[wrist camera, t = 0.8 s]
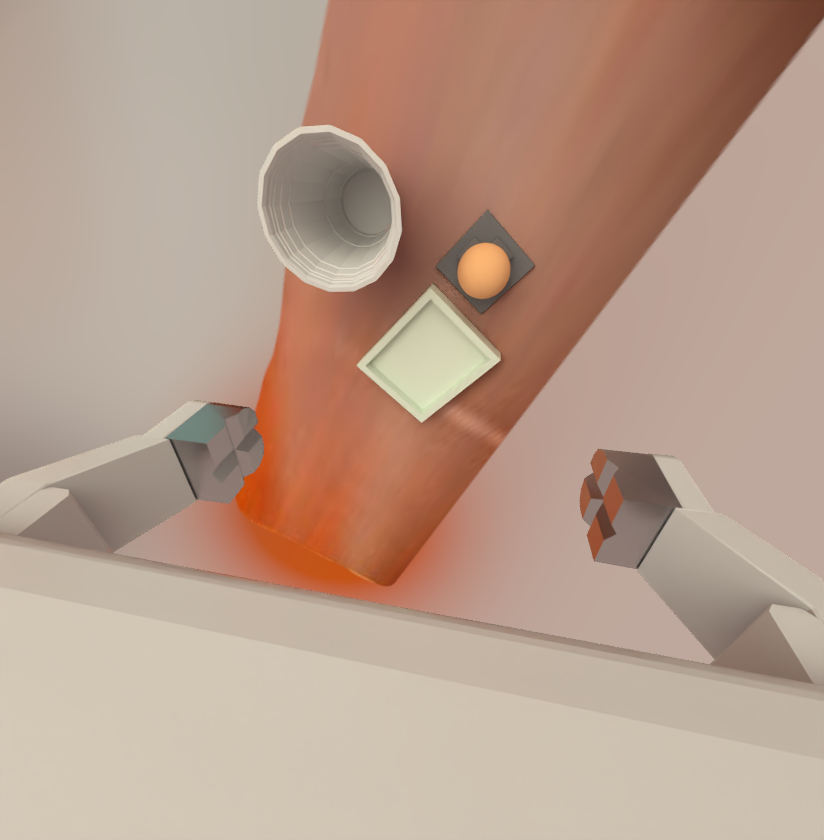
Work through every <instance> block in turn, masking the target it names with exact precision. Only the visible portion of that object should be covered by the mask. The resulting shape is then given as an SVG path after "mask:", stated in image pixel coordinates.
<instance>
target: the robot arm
mask: <svg viewBox="0 0 824 840" xmlns="http://www.w3.org/2000/svg"><path fill="white" fill-rule="evenodd" d="M257 423H258V420H257V417H256V414H255V411H254V410H252V409H251V408H249V407H243V406H236V405H229V404H222V403H215V402H214V403H212V402H207V401H198V400H195V401H189V402H187V403H186V404H185V405H183V406H182V407H180V408H179V409H178V410H177V411H175V412H174V413H172V414H171V415H170V416H169V417H167V418H166V419H164V420H163V421H162V422H161V423H159V424H158V425H157V426H155V427H154V428H152V429H151V430H150V431H148V432H147V433H146V434H145V435H143V436H139V435H136V436H133V437H130V438H127V439H124V440H121V441H118V442H115V443H112V444H109V445H106V446H103V447H100V448H97V449H94V450H91V451H88V452H85V453H82V454H79V455H76V456H73V457H70V458H67V459H64V460H62V461H58V462H55V463H53V464H49V465H46V466H43V467H40V468H37V469H35V470H31V471H28V472H25V473H22V474H20V475H17V476H14V477H11V478H8V479H7V480H5V481H4V482H2V483H0V840H824V580H822V579H821V578H819V577H818V576H816V575H815V574H813V573H812V572H810V571H809V570H807V569H806V568H804V567H803V566H801V565H800V564H798V563H797V562H795V561H794V560H792V559H791V558H789V557H787V556H786V555H784V554H783V553H782V552H780V551H779V550H777V549H775V548H774V547H773V546H771V545H770V544H768V543H767V542H765V541H763V540H762V539H760V538H759V537H757V536H756V535H754V534H753V533H751V532H750V531H748V530H747V529H745V528H743V527H742V526H741V525H739V524H738V523H736V522H734V521H733V520H732V519H730V518H729V517H727V516H726V515H724V514H719V513H715V512H714V511H713V509H712V508H711V506H710V505H709V503H708V502H707V500H706V499H705V498H704V496H703V494H702V493H701V491H700V490H699V488H698V487H697V485H696V484H695V482H694V481H693V479H692V478H691V476H690V475H689V473H688V472H687V470H686V469H685V467H684V466H683V464H682V463H681V461H680V460H679V459H678V458H676V457H674V456H668V455H656V454H640V453H631V452H622V451H612V450H603V449H598V450H597V451H596V453H595V454H594V456H593V458H592V461H591V466H592V469H593V473H592V474H590V475H589V476H587V477H586V478H585V479H584V482H583V485H582V488H581V494H580V510H581V514H582V518H583V519H584V521H586V523H587V524H589V525H590V526H591V527H590V529H589V531H588V534H587V537H588V541H589V544H590V548H591V552H592V555H593V559H594V561H597V562H602V563H607V564H612V565H618V566H624V567H629V568H634V569H638V570H637V572H638V573H639V574H640V575H641V576H642V577H643V578H644V580H645V581H646V582H647V583H648V584H649V585H650V586H651V587H652V589H653V590H654V591H655V592H656V593H657V594H658V595H659V597H660V598H661V599H662V600H663V601H664V602H665V603H666V605H668V607H669V608H670V609H671V610H672V611H673V612H674V614H675V615H676V616H677V617H678V618H679V619H680V620H681V621H682V623H683V624H684V625H685V626H686V627H687V628H688V630H689V631H690V632H691V633H692V634H693V635H694V636H695V637H696V639H697V640H698V641H699V642H700V643H701V644H702V645H703V646H704V648H705V649H706V650H707V651H708V652H709V653H710V654H711V655H712V657H713V658H714V659H715V660H714V661H713V662H712V663H711V664H704V663H699V662H694V661H689V660H683V659H678V658H672V657H667V656H661V655H656V654H651V653H646V652H640V651H635V650H630V649H624V648H619V647H613V646H608V645H603V644H597V643H591V642H587V641H581V640H576V639H570V638H565V637H560V636H554V635H549V634H543V633H538V632H532V631H527V630H522V629H516V628H511V627H505V626H500V625H495V624H489V623H483V622H478V621H473V620H468V619H462V618H457V617H451V616H445V615H440V614H434V613H429V612H424V611H419V610H413V609H408V608H402V607H397V606H391V605H386V604H380V603H376V602H370V601H365V600H359V599H354V598H349V597H343V596H338V595H333V594H328V593H322V592H317V591H312V590H306V589H301V588H296V587H290V586H285V585H280V584H274V583H269V582H263V581H258V580H253V579H248V578H242V577H237V576H231V575H226V574H220V573H215V572H210V571H205V570H199V569H194V568H189V567H183V566H177V565H173V564H167V563H162V562H156V561H151V560H146V559H140V558H135V557H129V556H124V555H118V554H114V553H113V552H114V551H116V550H118V549H119V548H121V547H123V546H124V545H126V544H127V543H129V542H131V541H132V540H134V539H136V538H137V537H139V536H141V535H142V534H144V533H145V532H147V531H148V530H150V529H152V528H154V527H155V526H157V525H158V524H160V523H162V522H163V521H165V520H167V519H168V518H170V517H171V516H173V515H175V514H176V513H178V512H180V511H181V510H183V509H185V508H186V507H188V506H189V505H191V504H192V503H194V502H196V499H197V500H205V501H212V502H220V503H230V502H231V501H232V499H233V498H234V497H235V496H236V494H237V493H238V492H239V491H240V489H241V488H242V487H243V486H244V484H245V483H244V477H245V476H247V475H249V474H251V473H253V472H255V470H256V469H257V468H258V466H259V465H260V463H261V460H262V457H263V454H264V443H263V439H262V436H261V435H260V434H259V433H258V432H257V431H256V430H255V429H254V428H255V427H256V425H257Z"/></svg>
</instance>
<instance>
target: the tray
mask: <svg viewBox="0 0 824 840" xmlns="http://www.w3.org/2000/svg"><path fill="white" fill-rule="evenodd" d="M499 361H501V353H500V352H499V351H498V350H497V349H496V348H495V347H494V346H493V345H492V344H491V343H490V342H489V341H488V339H487V338H486V337H485V336H484V335H483V334H482V333H481V332H480V331H479V330H478V329H477V328H476V327H475V326H474V325H473V324H472V323H471V322H470V321H469V320H468V319H467V318H466V317H465V316H464V315H463V314H462V313H461V312H460V311H459V310H458V308H457V307H456V306H455V305H454V304H453V303H452V302H451V301H450V300H449V299H448V298H447V297H446V296H445V295H444V294H443V293H442V292H441V291H440V290H439V289H438V288H437V287H436V286H435V285H434V284H432V285H431V286H430V287H429V288H428V289H427V290H426V291H425V292H424V293H423V294H422V295H421V296H420V297H419V298H418V299H417V300H416V302H415V303H414V304H413V305H412V306H411V307H410V308H409V309H408V310H407V311H406V312H405V313H404V314H403V315H402V316H401V317H400V318H399V319H398V320H397V322H396V323H395V324H394V325H393V326H392V327H391V328H390V329H389V330H388V331H387V332H386V333H385V334H384V335H383V336H382V337H381V338H380V339H379V341H378V342H377V343H376V344H375V345H374V346H373V347H372V348H371V349H370V350H369V351H368V352H367V353H366V354H365V355H364V356H363V357H362V358H361V360H360V361H359V363H358V364H357V367H359V368H360V369H361V370H362V371H363V372H364V373H365V374H366V375H368V376H369V377H370V378H371V379H372V380H373V381H374V382H376V383H377V384H378V385H379V386H380V387H381V388H382V389H384V390H385V391H386V392H387V393H388V394H389V395H390V396H392V397H393V398H394V399H395V400H396V401H397V402H398V403H400V404H401V405H402V406H403V407H404V408H405V409H406V410H408V411H409V412H410V413H411V414H412V415H413V416H414V417H415V418H417V419H418V420H419V421H420V422H421V423H422V422H423V421H424V420H426V419H427V418H428V417H430V416H431V415H432V414H433V413H435V412H436V411H437V410H438V409H440V408H441V407H442V406H443V405H445V404H446V403H447V402H449V401H450V400H451V399H452V398H454V397H455V396H456V395H457V394H459V393H460V392H461V391H462V390H464V389H465V388H466V387H468V386H469V385H470V384H471V383H473V382H474V381H475V380H476V379H478V378H479V377H480V376H481V375H483V374H484V373H485V372H487V371H488V370H489V369H490V368H492V367H493V366H494V365H495V364H497V363H498V362H499Z"/></svg>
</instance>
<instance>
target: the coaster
mask: <svg viewBox="0 0 824 840" xmlns="http://www.w3.org/2000/svg"><path fill="white" fill-rule="evenodd" d="M480 243H492V244H495V245H497V246H499V247H500V248H502V249H503V250H504V252H505V253H506V254H507V256H508V258H509V261H510V276H509V280H508V282H507V284H506V286H505V287H504V288H503V289H502V290H501V291H500V292H499V293H498V294H497V295H495V296H493V297H490V298H487V299H478V298H474V297H471V296H470V295H468V294H467V293H466V292H465V291H464V290H463V289H462V287H461V286H460V284H459V281H458V275H457V271H458V265H459V262H460V260H461V258H462V256H463V255H464V253H465V252H466V251H467V250H468V249H469V248H471V247H472V246H474V245H477V244H480ZM534 266H535V265H534V264H533V262H532V261H531V260H530V259H529V258H528V257H527V255H526V254H525V253H524V252H523V251H522V249H521V248H520V247H519V246H518V245H517V244H516V242H515V241H514V240H513V239H512V238H511V237H510V235H509V234H508V233H507V232H506V231H505V229H504V228H503V227H502V226H501V225H500V224H499V222H498V221H497V220H496V219H495V218H494V216H493V215H492V214H491V213H490V212H489V211H488V210H487V211H486V212H485V213H484V214H483V215H482V216H481V218H480V219H479V220H478V221H477V222H476V223H475V224H474V225H473V226H472V227H471V228H470V229H469V231H468V232H467V233H466V234H465V235H464V236H463V237H462V238H461V239H460V240H459V241H458V242H457V244H456V245H455V246H454V247H453V248H452V249H451V250H450V251H449V252H448V253H447V254H446V255H445V257H444V258H443V259H442V260H441V261H440V262H439V263H438V264H437V265H436V267H437V268H438V269H439V270H440V271H441V272H442V273H443V274H444V275H445V276H446V278H447V279H448V280H449V281H450V282H451V283H452V284H453V285H454V286H455V287H456V288H457V289H458V290H459V291H460V292H461V293H462V294H463V295H464V297H465V298H466V299H467V300H468V301H469V302H470V303H471V304H472V305H473V306H474V307H475V308H476V309H477V310H478V311H479V312H480V313H481V314H482V313H483V312H484V311H485V310H486V309H487V308H488V307H490V306H491V305H492V304H493V303H494V302H495V301H496V300H497V299H498V298H500V297H501V296H502V295H503V294H504V293H505V292H506V291H507V290H508V289H510V288H511V287H512V286H513V285H514V284H515V283H516V282H517V281H518V280H519V279H521V278H522V277H523V276H524V275H525V274H526V273H527V272H528V271H529V270H531V269H532V268H533V267H534Z"/></svg>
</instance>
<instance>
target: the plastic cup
mask: <svg viewBox="0 0 824 840" xmlns="http://www.w3.org/2000/svg"><path fill="white" fill-rule="evenodd" d="M257 207H258V211H259V215H260V219H261V222H262V226H263V229H264V234H265V237H266V239H267V240H268V242H269V243H270V245H271V247H272V248H273V250H274V251H275V253H276V254H277V256H278V258H279V259H280V260H281V262H282V264H283V265H284V266H286V267H287V268H288V269H289V270H290V271H292V272H293V273H294V274H295V275H296V276H297V277H299V278H300V279H301V280H302V281H303V282H305V283H308V284H310V285H313V286H315V287H318V288H321V289H323V290H326V291H328V292H344V291H356V290H358V289H360V288H362V287H364V286H366V285H368V284H370V283H372V282H375V281H377V279H378V278H379V277H380V276H381V274H382V273H383V272H384V271H385V270H386V268H387V267H388V266H389V265H390V264H391V262H392V261H393V260H394V256H395V253H396V250H397V246H398V243H399V240H400V236H401V233H402V224H401V208H400V197H399V195H398V192H397V190H396V188H395V185H394V183H393V181H392V178H391V176H390V174H389V171H388V169H387V167H386V165H385V163H384V162H383V161H382V160H381V159H380V158H379V157H378V156H377V155H376V154H375V153H374V152H373V151H372V150H371V149H370V147H369V146H368V145H367V144H366V143H365V142H364V141H363V140H362V139H361V138H359V137H357V136H354V135H352V134H350V133H348V132H345V131H343V130H341V129H338V128H336V127H334V126H331V125H320V126H307V127H298V128H297V129H295V130H294V131H292V132H291V133H289V134H288V135H287V136H285V137H284V138H282V139H281V140H280V141H278V142H277V143H275V144H274V145H273V147H272V149H271V151H270V153H269V155H268V157H267V159H266V161H265V163H264V165H263V167H262V169H261V171H260V173H259V185H258V199H257Z"/></svg>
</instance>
